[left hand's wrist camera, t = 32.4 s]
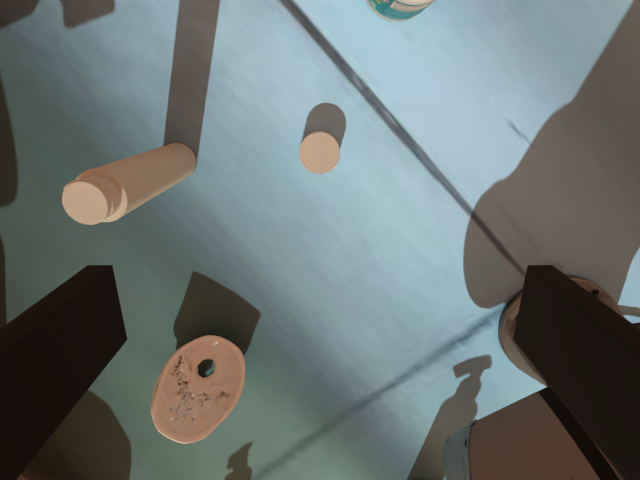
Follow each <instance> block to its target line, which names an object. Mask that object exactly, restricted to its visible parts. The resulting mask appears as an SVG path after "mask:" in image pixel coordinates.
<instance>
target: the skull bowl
mask: <svg viewBox="0 0 640 480" xmlns="http://www.w3.org/2000/svg"><path fill="white" fill-rule="evenodd" d="M179 356H180V358H179ZM205 359H211V360H213V362H214V364H215V369H214V371H213V373H212V374H211V375H209V376H208V377H205V378H202V377H201V376H199V374H198V365H199V364H200V363H201V362H202V361H203V360H205ZM179 361H180V362H179ZM180 379H181V380H180ZM223 380H224V381H223ZM244 380H245V361H244V357H243V354H242V352H241V351H240V349H239V348H238V347H237V346H236V345H234V344H233V343H232V342H230V341H229V340H227V339H225V338H222V337H219V336H214V335H206V336H202V337H200V338H197V339H195V340H193V341H191V342H189V343H187V344H185V345H184V346H182V347H181V348H179V349H178V350H176V351H175V352H174V353H173V354H172V355H171V357H170V358H169V360H168V361H167V362H166V364H165V366H164V367H163V369H162V371H161V374H160V376H159V377H158V379H157V381H156V384H155V387H154V391H153V396H152V402H151V415H152V418H153V421H154V423H155V426H156V428H157V430H158V431H159V432H160V433H161V434H162V435H164V436H165V437H167V438H169V439H171V440H174V441H176V442H179V443H184V444H186V443H192V442H196V441H199V440H202V439H204V438H205V437H206V436H208V435H209V434H210V433H211V432H212V431H213V430H214V429H215V428H216V427H217V426H218V425H219V424H220V423H221V422H222V421H223V420H224V419H225V418H226V417H227V415H228V414H229V413H230V412H231V411H232V409H233V408H234V406H235V405H236V403H237V402H238V400H239V398H240V396H241V393H242V390H243V386H244ZM158 382H159V384H158ZM186 382H187V383H186ZM178 383H180V384H181V385H178ZM186 384H187V385H186ZM157 386H158V389H157ZM200 393H201V394H200ZM225 393H226V394H225ZM228 394H229V396H228ZM185 395H186V397H185V399H183V400H181V399H182V398H183V397H184V396H185ZM171 420H172V421H171Z"/></svg>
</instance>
